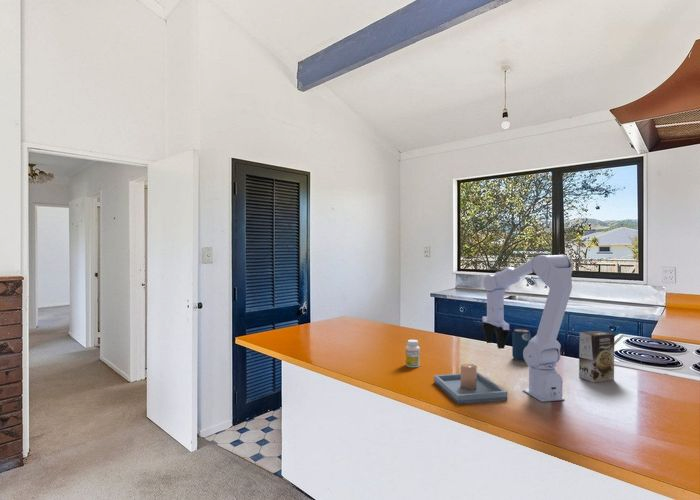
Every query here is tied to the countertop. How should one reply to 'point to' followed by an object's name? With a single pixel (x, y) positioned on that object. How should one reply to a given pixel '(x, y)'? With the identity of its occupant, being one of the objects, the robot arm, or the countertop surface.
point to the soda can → (520, 343)
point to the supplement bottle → (412, 354)
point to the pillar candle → (468, 377)
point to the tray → (482, 394)
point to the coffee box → (596, 356)
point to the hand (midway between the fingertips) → (495, 345)
